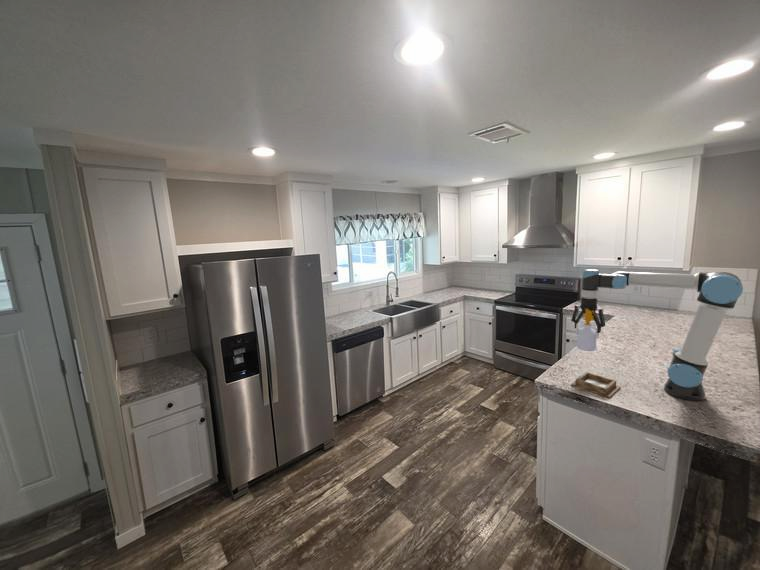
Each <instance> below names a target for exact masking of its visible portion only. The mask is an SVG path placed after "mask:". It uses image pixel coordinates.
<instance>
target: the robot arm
mask: <svg viewBox="0 0 760 570" xmlns="http://www.w3.org/2000/svg"><path fill="white" fill-rule="evenodd" d="M626 287H641V288H642V287H645V288H658V289H659V288H660V289H676V290H677V289H678V290H690V291H694V292H695V293H699V294H698V296H697V299H696V301H697V303H698V304H699V305H698V308H697V311H696V313H695V316H694V318H693V320H692V322H691V324H690V327H689V330H688V331H687V334H686V337H685V339H684V342H683V344H682V346H681V348H674V349H673V351H672V353H671V354H672V359H671V361H670V364H669V366H668V368H667V372H666V373H667V376H668V378H667V380H666V381H665V383H664V387H663V390H664V391H665V393H667V394H669V395H670V396H673V397H676V398H679V399H681V400H682V399H683V400H685V401H691V402H702V401H705V400H706V392H705V389H704V386H703V377H704V375H705V372H706V370H707V368H708V366H709V362H708V361H707V359H706V358H707V357H708V354H709V352H710V350H711V348H712V344H713V342H714V341H715V338H716V336H717V334H718V333H719V332H718V331H719V330H720V327H721V325H722V322H723V321H724V318H725V316H726V313H727V312H728V311H730V310H733V309H734V308H735V306H736V304H737V302H738V299H739V298H740V297H741V296H742V294H743V291H744V288H743V287H744V286H743V283H742V280H741V279H740V278H739V277H738V276H737V275H736V274H734V273H731V272H727V271H726V272H725V271H715V272H714V271H711V272H701V271H700V272H697V273H695V274H693V273H692V274H691V273H669V272H667V273H665V272H663V273H661V272H637V271H636V272H635V271H622V270H617V271H614V272H612V273H611V274H609V273H600V271H599V269H592V268H591V269H589V268H588V269H584V270H583V271H582V277H581V293H580V295H581V297H580V304H576V305H574V310H573V314H572V316H571V319H570V321H571V323H572V322H573V323H574V329H575V335H576V336H577V335H578V330H579V329H580V328H581V323H580V321H581V319H583V316H584V315H586V310H585V309H586V308H588V310H590V311H592V310H593V311H594V313H593V312H592V316H593V319H594V320H593V321H594V322H595V325H596V326H595V329H594V330H595V339H596V340H597V339H599V336H600V333H601V332H602V328H604V327H606V320H605V317H604V316H605V315H604V308H600V307H598V296H599V295H598V294H599V288H600V289H601V288H602V289H604V288H605V289H613V290H625V289H626ZM584 307H585V308H584ZM579 310H581V311H580V313H579ZM597 313H598V316H597Z"/></svg>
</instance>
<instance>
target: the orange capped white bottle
mask: <svg viewBox="0 0 760 570" xmlns="http://www.w3.org/2000/svg"><path fill="white" fill-rule="evenodd" d="M584 308H585V307H584ZM585 310H586V313H585V314H584V315H585V317H583V316H582V319H583V320H584V321H585V322H584V323H583V327H580V329H579V330H578V335H576V336H577V338H576V347H577V349H579V350H581V351H585V352H594V351H596V349H597V339H595V329H594V328H592V323H590V322H591V321H594V319H593V316H592V312H593V313H594V311H593V310H592V311H590V310H588V308H586V309H585Z"/></svg>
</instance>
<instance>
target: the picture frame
mask: <svg viewBox="0 0 760 570" xmlns="http://www.w3.org/2000/svg"><path fill="white" fill-rule="evenodd" d="M571 385H572V386H571ZM570 386H571V387H574V386H575V387H574V388H577V387H578V389H579V390H580V389H581V390H584V391H587V392H589V393H592V394H596V395H599V396H601V397H605V398H607V399H610V398H612V397H613V396H614V395H615V394H616V393H617V392H618V391H620V390H621V385H617V380H616V379H612V378H609V377H606V376H602V375H599V374H597V373H596V374H595V373H593V372H589V371H585V372H584V373H583V374H581V375H580V376H579V377H577V378H576V379H575V381H573V382H572V383H570Z"/></svg>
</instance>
